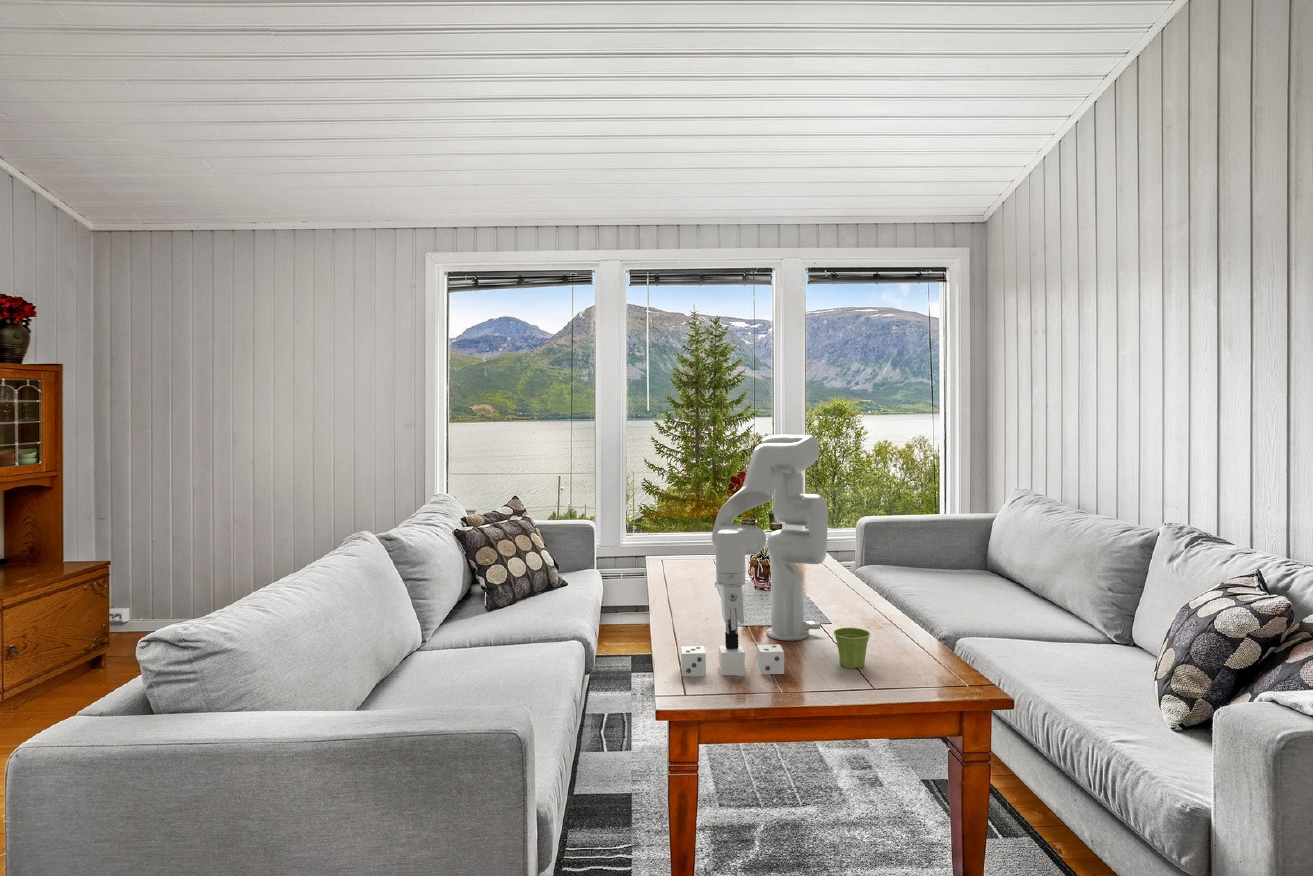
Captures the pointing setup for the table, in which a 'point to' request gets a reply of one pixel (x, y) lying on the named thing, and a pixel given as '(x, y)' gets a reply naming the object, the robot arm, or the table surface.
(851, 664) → the plant pot
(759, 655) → the two dot block
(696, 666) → the three dot block
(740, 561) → the robot arm
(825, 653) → the table surface
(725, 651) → the plain block
